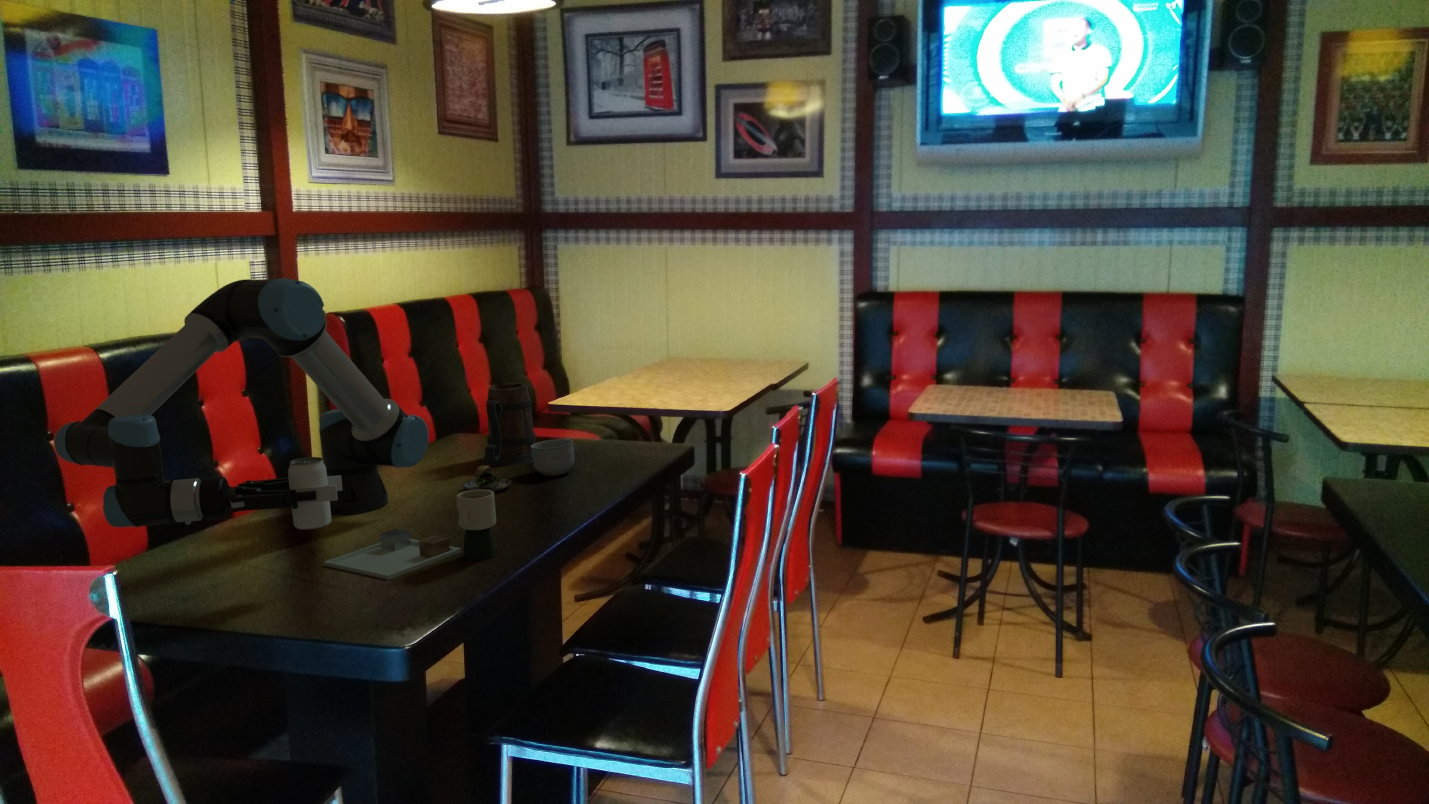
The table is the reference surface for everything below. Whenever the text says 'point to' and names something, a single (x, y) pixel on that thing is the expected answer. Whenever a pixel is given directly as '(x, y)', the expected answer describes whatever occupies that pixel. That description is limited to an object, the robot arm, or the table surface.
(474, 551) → the character mug
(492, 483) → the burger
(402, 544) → the grey metal block
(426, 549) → the walnut block
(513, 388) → the tankard
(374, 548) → the tray
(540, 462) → the teacup
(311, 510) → the can
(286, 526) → the table surface
